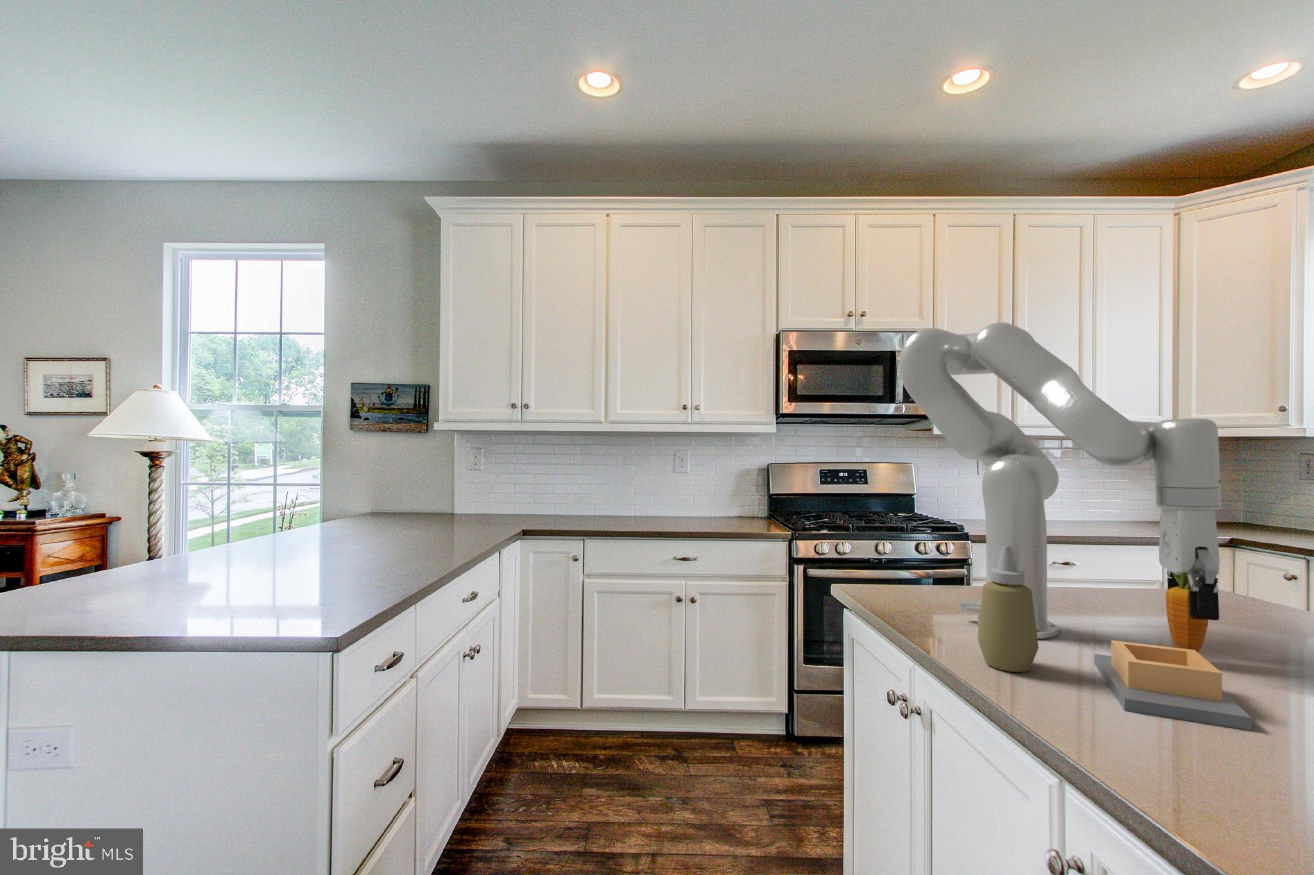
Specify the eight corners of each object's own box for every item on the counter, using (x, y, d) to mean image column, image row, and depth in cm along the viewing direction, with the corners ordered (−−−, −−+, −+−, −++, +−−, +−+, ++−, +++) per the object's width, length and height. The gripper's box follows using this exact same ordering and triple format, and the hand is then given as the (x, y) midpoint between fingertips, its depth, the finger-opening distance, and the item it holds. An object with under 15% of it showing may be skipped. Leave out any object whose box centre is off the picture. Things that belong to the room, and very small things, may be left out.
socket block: (1124, 710, 76) (1124, 670, 76) (1094, 663, 92) (1094, 630, 92) (1251, 730, 70) (1251, 687, 71) (1195, 676, 87) (1195, 642, 87)
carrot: (1157, 657, 95) (1157, 561, 95) (1186, 656, 95) (1186, 561, 95) (1188, 668, 90) (1187, 568, 90) (1218, 667, 90) (1217, 567, 90)
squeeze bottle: (1031, 660, 93) (1030, 544, 94) (1045, 679, 86) (1045, 552, 86) (973, 654, 96) (972, 541, 96) (982, 672, 88) (981, 549, 89)
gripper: (1141, 494, 102) (1145, 596, 102) (1175, 502, 87) (1180, 622, 86) (1198, 495, 99) (1202, 600, 98) (1244, 504, 83) (1250, 628, 83)
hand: (1192, 610), depth 92 cm, fingers open, 9 cm apart
